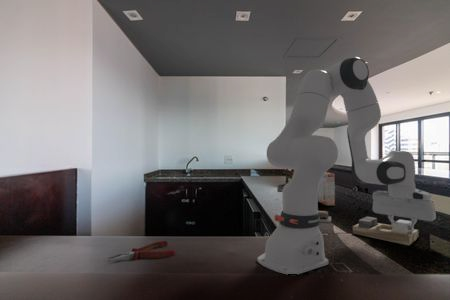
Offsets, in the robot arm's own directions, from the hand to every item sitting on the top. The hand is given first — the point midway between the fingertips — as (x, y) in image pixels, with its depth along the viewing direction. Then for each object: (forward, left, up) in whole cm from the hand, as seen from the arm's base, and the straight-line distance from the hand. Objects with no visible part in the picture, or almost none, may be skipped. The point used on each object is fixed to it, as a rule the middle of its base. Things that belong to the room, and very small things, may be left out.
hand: (402, 228), depth 99 cm
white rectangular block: (0, 0, -2) cm, 2 cm away
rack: (0, +6, -4) cm, 7 cm away
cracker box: (+47, +55, -4) cm, 73 cm away
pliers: (-81, +54, -5) cm, 97 cm away
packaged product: (+3, +40, -5) cm, 41 cm away
